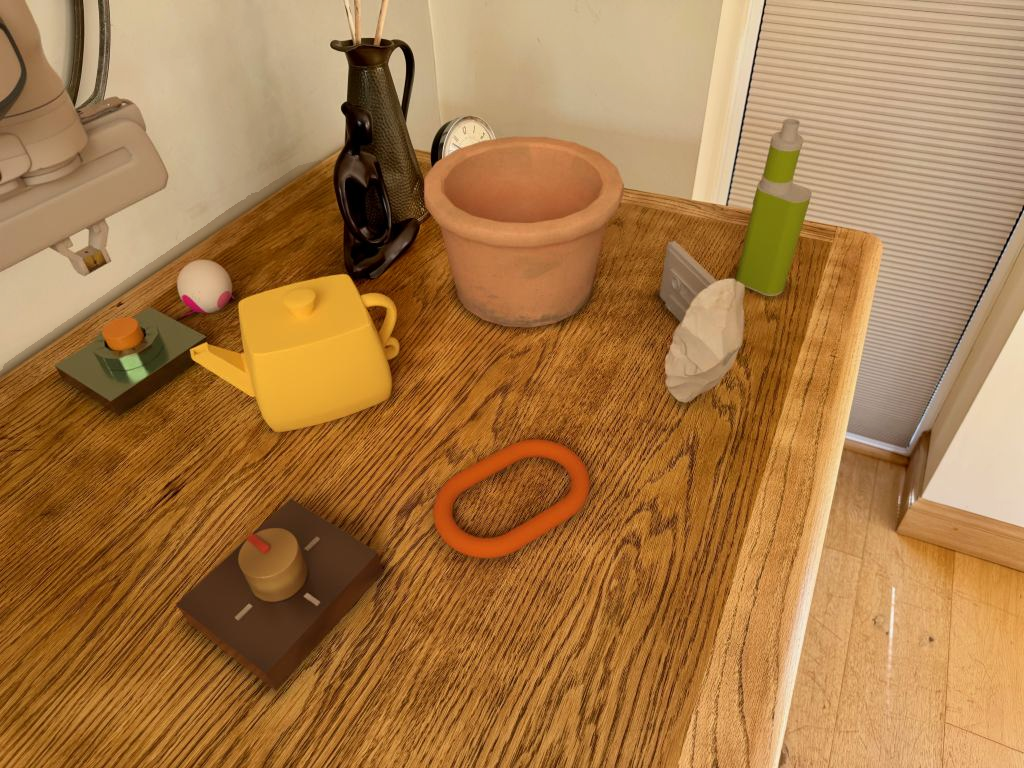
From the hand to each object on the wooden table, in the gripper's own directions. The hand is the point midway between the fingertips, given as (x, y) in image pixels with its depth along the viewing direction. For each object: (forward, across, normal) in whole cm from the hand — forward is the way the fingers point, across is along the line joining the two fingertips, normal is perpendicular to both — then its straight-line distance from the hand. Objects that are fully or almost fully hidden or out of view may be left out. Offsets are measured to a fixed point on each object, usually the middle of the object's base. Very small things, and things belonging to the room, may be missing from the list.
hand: (94, 267), depth 71 cm
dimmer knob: (+10, +11, +35) cm, 38 cm away
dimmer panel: (+13, +11, +35) cm, 39 cm away
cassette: (+14, -39, +47) cm, 63 cm away
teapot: (+13, -8, +18) cm, 24 cm away
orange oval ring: (+14, -7, +44) cm, 47 cm away
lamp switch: (+13, 0, 0) cm, 13 cm away
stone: (+14, -28, +53) cm, 62 cm away
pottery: (+14, -35, +27) cm, 46 cm away
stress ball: (+13, -11, -3) cm, 17 cm away
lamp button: (+9, 0, 0) cm, 9 cm away
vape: (+14, -51, +51) cm, 74 cm away
